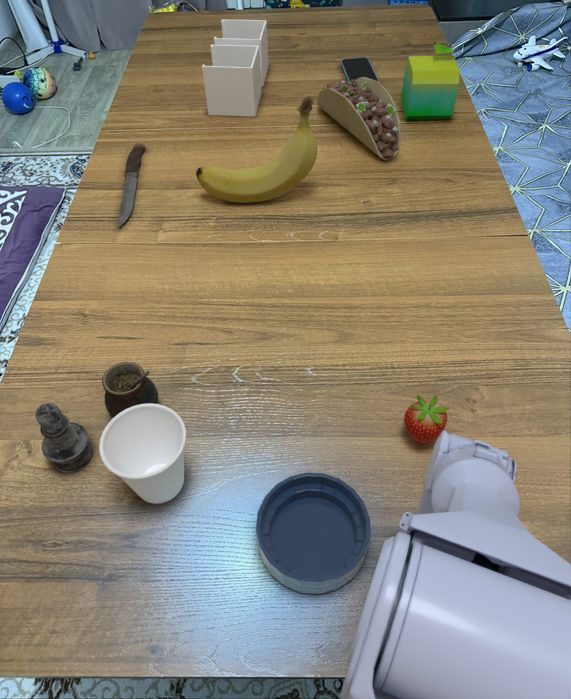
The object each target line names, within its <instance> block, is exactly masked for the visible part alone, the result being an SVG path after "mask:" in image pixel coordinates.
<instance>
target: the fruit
mask: <svg viewBox="0 0 571 699" xmlns="http://www.w3.org/2000/svg"><path fill="white" fill-rule="evenodd" d="M415 396H416V399H417V401H416V402H414V403H412V404H410V406H409V407H408V408H407V409H406V411H405V413H404V416H403V423H404V426H405V429H406V431H407V433H408V434H409V435H410V436H411V438H413V439H414V440H415V441H416V442H418V443H421V444H427V443H429V442H431V441H433V440H435V439H438V437H439V435H440V434H441V432H442V431H443V430H445V428H446V426H447V423H448V414H447V411H448V410H450V407H449V406H443V405H442V404H440V403H439V402H438V395H434V396H433V397H432V398H431V399H430V400H429V399H427V400H425V399H424V398H423V397H421V396H420V395H419V394H416V395H415Z"/></svg>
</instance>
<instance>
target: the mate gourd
mask: <svg viewBox="0 0 571 699" xmlns="http://www.w3.org/2000/svg"><path fill="white" fill-rule="evenodd" d="M149 374H150V371H149V370H147V371H146V372H145V371H144V369H143V367H142V366H141V365H139V364H138V363H136V362H134V361H126V360H125V361H122V362H118V363H115V364H113V365H111V366H110V367H109V368H108V369H107V370H106V371H105V372H104V373H103V376H102V379H101V384H102V388H103V389H104V405H105V409H106V411H107V412H108V414H109V417H111V419H113V418H114V417H115V416H116V415H118V414H119V413H120V412H122V411H124V410H125V409H128V408H130V407H133V406H136V405H140V404H149V403H151V404H159V393H158V392H159V391H158V388H157V387H156V385H155V384H154V382H153V381H152V380H151V379H150V378H149V377H148V376H149Z"/></svg>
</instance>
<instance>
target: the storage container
mask: <svg viewBox="0 0 571 699" xmlns="http://www.w3.org/2000/svg"><path fill="white" fill-rule="evenodd" d="M220 25H221V33H222V34H221V35H222V37H217V36H214V37H213V44H211V45H210V54H211V62H212V63H211V64H212V65H206V64H205V63H203V64H202V66H201V69H202V76H203V77H202V78H203V85H204V93H205V99H206V107H207V115H208V116H229V117H256V116H257V112H258V108H259V104H260V101H261V97H262V88H263V87H264V86H265V81H266V77H267V74H268V70H269V66H270V65H269V46H268V44H269V42H268V21H267V20H266V19H225V18H224V19H223V18H222V19H221V21H220Z"/></svg>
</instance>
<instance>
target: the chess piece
mask: <svg viewBox="0 0 571 699" xmlns="http://www.w3.org/2000/svg"><path fill="white" fill-rule="evenodd" d="M34 416H35V420H36V422H37V423H38V424H39V426H40V428H39V430H40V433H41V435H42V436H43V439H42V441H41V452H42V455H43V456H44V457H45V458H46V459H47V460H49V461H50V462H52V464H53V466H54V467H55V469H56V470H57V471H59V472H61V473H64V474H72V473H76V472H78V471H80V470H82V469H83V468H85V467H86V466H87V465H89V463H90V462H91V460H92V459H93V456H94V448H93V446H92V443H91V442H90V441H89V434H88V431H87V429H86V428H85V427H84V425H83V424H80V423H78V422H74V421H71V420H70V418H69V417H68V416H67V415H66V414H64V413H62V411H61V409H60V407H59V406H58V405H57V404H55V403H52V402H46V403H43V404H41V405H39V406H38V407H37V409H36V410H35V414H34Z"/></svg>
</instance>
